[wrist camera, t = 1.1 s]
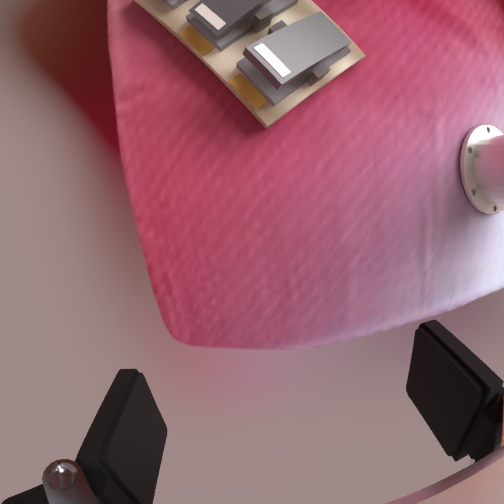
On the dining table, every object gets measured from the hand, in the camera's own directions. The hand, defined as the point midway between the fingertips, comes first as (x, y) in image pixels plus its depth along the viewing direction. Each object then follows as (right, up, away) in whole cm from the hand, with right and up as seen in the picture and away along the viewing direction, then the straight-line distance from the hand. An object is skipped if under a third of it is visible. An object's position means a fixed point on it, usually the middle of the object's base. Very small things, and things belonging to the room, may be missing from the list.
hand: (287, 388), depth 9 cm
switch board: (-2, +30, +16) cm, 34 cm away
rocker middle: (-2, +29, +11) cm, 31 cm away
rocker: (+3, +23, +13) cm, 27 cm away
